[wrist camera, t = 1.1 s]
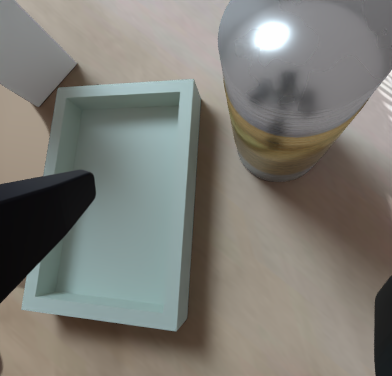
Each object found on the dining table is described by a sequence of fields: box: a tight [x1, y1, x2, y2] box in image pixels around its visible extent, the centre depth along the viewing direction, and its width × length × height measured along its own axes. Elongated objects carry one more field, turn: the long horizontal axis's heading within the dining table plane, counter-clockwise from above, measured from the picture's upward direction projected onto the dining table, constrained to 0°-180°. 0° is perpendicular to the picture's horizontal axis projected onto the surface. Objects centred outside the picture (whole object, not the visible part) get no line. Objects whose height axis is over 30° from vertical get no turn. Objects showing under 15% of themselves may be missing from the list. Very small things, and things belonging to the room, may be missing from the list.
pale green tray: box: [21, 79, 201, 331], centre depth 22 cm, size 18×12×3 cm, turn 177°
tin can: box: [218, 0, 392, 182], centre depth 16 cm, size 7×7×12 cm
